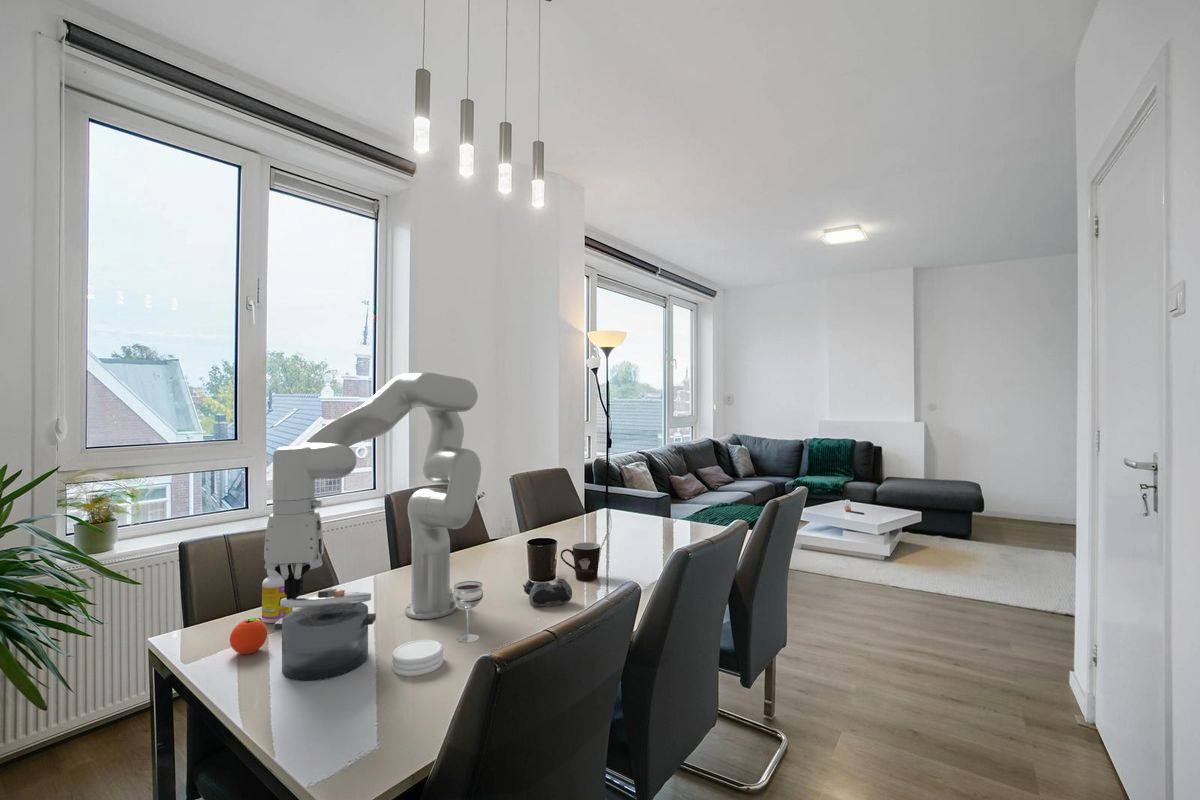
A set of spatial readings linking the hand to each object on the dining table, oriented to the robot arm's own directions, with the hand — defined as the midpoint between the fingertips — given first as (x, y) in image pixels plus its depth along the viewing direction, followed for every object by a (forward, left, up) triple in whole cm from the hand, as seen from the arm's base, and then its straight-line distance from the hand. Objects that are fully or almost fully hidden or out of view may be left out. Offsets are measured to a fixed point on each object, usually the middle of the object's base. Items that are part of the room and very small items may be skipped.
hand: (293, 596), depth 115 cm
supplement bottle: (+14, -28, -14) cm, 34 cm away
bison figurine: (-53, -30, -14) cm, 63 cm away
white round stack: (-25, +3, -14) cm, 29 cm away
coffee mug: (-65, -50, -14) cm, 83 cm away
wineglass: (-34, -9, -14) cm, 38 cm away
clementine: (+12, -9, -14) cm, 21 cm away
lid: (-6, -1, -2) cm, 6 cm away
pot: (-6, -1, -14) cm, 15 cm away
